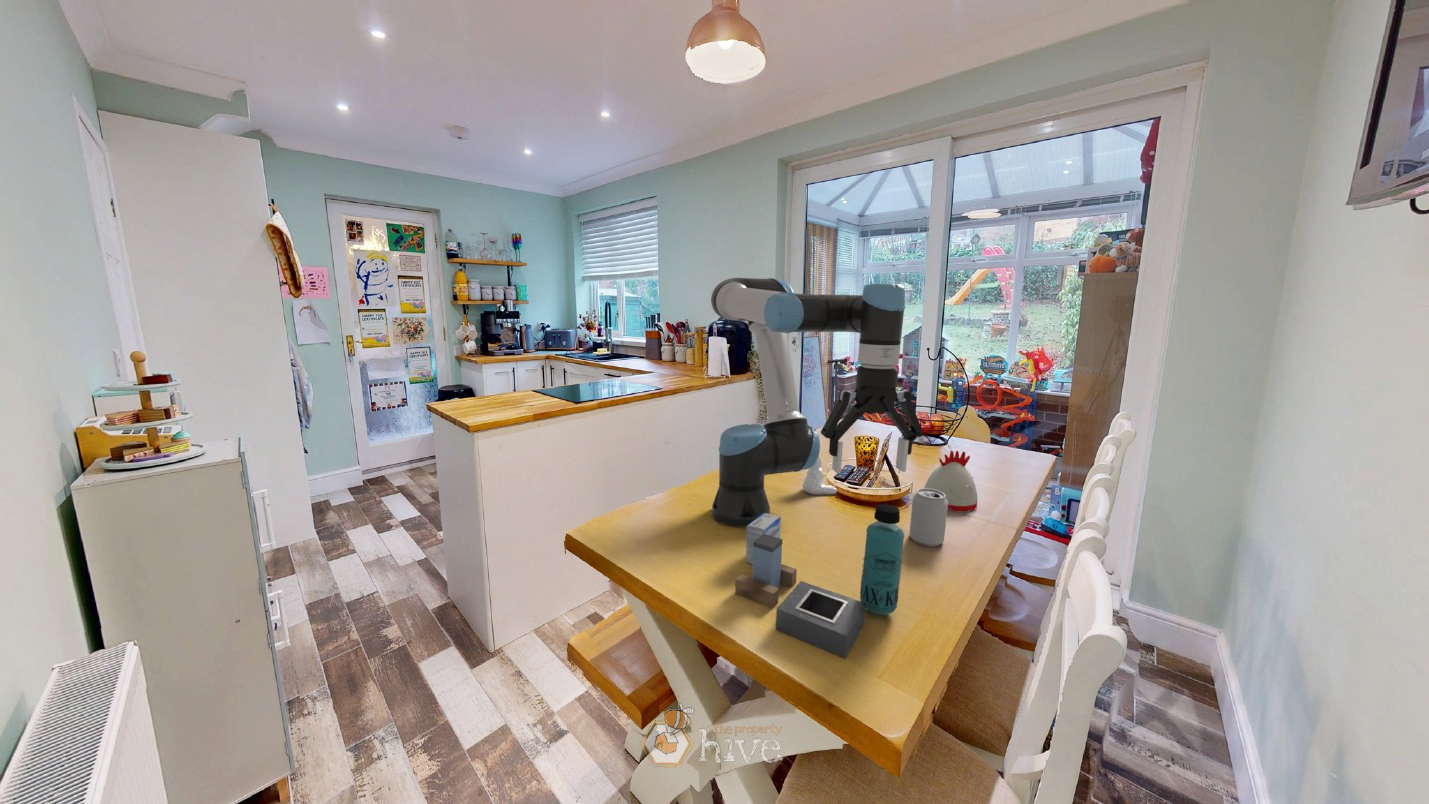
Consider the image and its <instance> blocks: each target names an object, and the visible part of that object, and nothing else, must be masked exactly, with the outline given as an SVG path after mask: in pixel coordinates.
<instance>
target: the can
mask: <svg viewBox="0 0 1429 804" xmlns="http://www.w3.org/2000/svg"><path fill="white" fill-rule="evenodd" d="M945 497H946V495H945V494H944V493H943V492H941V491H938V490H935V489H929V488H918V489H917V490H916V492H915V494H914V495H913V496H912V501H911V502H912V503H911V514H910V523H909V525H910V526H909V532H908V533H909V537H910V538H911V539H912V540H913V542H915V543H917V544H918V545H921V546H925V547H938V546H939V545H941V544H943V543H944V541H945V535H946V527H947V526H946V525H947V518H948V510H947V509H948V501H947V499H946V498H945Z"/></svg>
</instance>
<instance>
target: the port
mask: <svg viewBox="0 0 1429 804" xmlns="http://www.w3.org/2000/svg"><path fill="white" fill-rule="evenodd" d="M866 610H867V609H866V603H864V602H861V600H857V599H854V598H852V597H849V596H846V595H843V594H840V593H837V592H834V591H830V590H828V589H826V588H822V587H819V586H816V585H814V584H810V583H808V582H805V581H803V580H800V581H799V582H798V583H797V585H796V586H795V587H794V588H793V589H792V591H790V593H789V594H788V595H787V596H786V597H785V598H784V599H783V601H782V602H781V603H780V604H779V605H778V606H777V607H776V614H775V615H776V618H775V619H776V620H775V631H778V632H780V633H783V634H785V635H787V636H790V637H792V638H795V639H797V640H800V641H802V642H804V643H806V644H808V645H811V646H814V647H816V648H819V649H821V650H823V651H826V652H827V653H831V654H833V655H836V656H838V657H839V658H843V659H846V658H847V656H848V655H849V653H850V652H851V649H852V647H853V646H854V644H855V642H856V640H857V638H858V637H859V635H860V633H861V631H862V630H863V628H864V627H865V622H866V621H865V620H866V612H867V611H866Z"/></svg>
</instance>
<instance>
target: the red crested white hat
mask: <svg viewBox="0 0 1429 804" xmlns="http://www.w3.org/2000/svg"><path fill="white" fill-rule="evenodd" d="M938 459H939V463H940V465H938V466H937V467H936V468H934V469H933V471H932V472H931V473H930V475H929V476H928V478H927V481H926V483H925V484H924V488H929V489H935V490H938V491H941V492H943V493H944V494H945V495H946V497H945V498H946V499H947V501H948V509H947V511H949V512H950V511H951V512H959V511H964V512H971V511H974V510H975V508H976V509H977V507H978V502H979V501H978V492H977V488H976V483H975V481H974V477H973V476H972V474H971V472H970V471H969V470H968V469H967V468H966V467H965V466H966V465H967V463H968V462H969V460H970V459H971V456H970V455H967V456H966V452H965V451H962V453H961V455H960V451H958V450H956V451H955V453H954V451H953V450H950V453H949V455H947V454H946V453H945V454H944V462H943V460H942V459H941V457H939V458H938Z"/></svg>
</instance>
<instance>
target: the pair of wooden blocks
mask: <svg viewBox="0 0 1429 804" xmlns="http://www.w3.org/2000/svg"><path fill="white" fill-rule="evenodd" d="M797 570H798V569H797V568H795V567H792V566H789V565H785V564H782V563H781V578H780V585H783V586H785V587H790V588H793V587H794V586H795V584H797ZM734 584H735V595H738V596H740V597H742V598H746V599H747V600H751V601H753V602H755V603H758V604H761V605H763V606H766V607H767V608H771V609H775V607H776V606H777V605H778V603H779V591H780V590H779V589H780V587H779V588H777V587H774V586H771V585H768V584H765V583H763V582H760V581H757V580H754V579H753V577H751V578H750V577H748V576H746V575H743V574H740V575H739V576H738V577H737V578H735V583H734Z"/></svg>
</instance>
